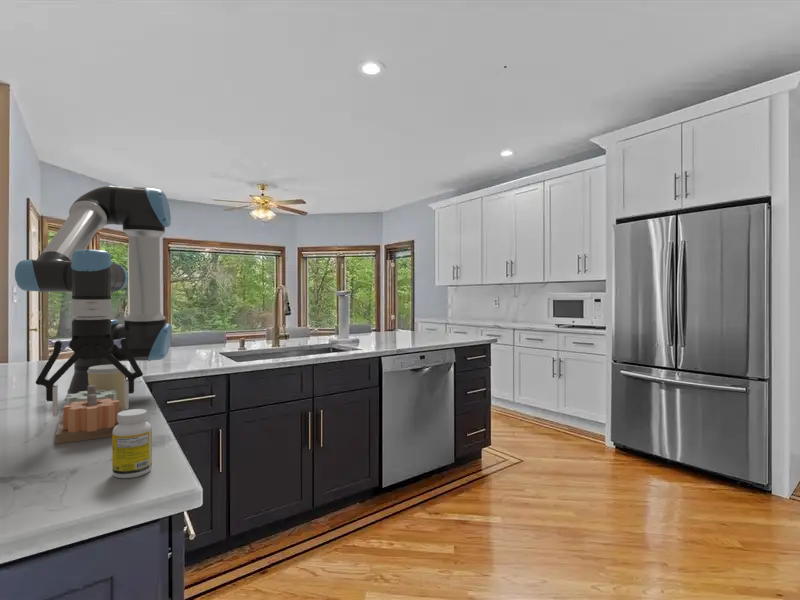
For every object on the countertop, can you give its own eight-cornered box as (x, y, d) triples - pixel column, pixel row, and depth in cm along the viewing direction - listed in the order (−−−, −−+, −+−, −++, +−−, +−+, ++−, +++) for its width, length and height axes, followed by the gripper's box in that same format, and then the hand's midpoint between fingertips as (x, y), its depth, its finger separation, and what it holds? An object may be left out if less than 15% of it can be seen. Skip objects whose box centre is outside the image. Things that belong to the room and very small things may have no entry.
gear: (58, 415, 117) (58, 394, 117) (104, 406, 126) (104, 388, 126) (77, 422, 111) (77, 400, 111) (124, 412, 120) (124, 393, 120)
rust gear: (64, 423, 110) (64, 401, 110) (117, 417, 116) (117, 396, 116) (62, 435, 101) (62, 411, 101) (120, 427, 107) (120, 405, 107)
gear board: (60, 422, 118) (60, 385, 118) (121, 415, 125) (121, 381, 125) (55, 443, 102) (55, 401, 101) (125, 434, 109) (126, 395, 109)
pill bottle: (122, 466, 89) (122, 407, 89) (157, 466, 89) (157, 407, 89) (105, 479, 83) (105, 416, 82) (142, 479, 83) (142, 416, 83)
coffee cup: (135, 408, 133) (135, 365, 133) (104, 416, 124) (104, 370, 124) (110, 405, 136) (110, 363, 136) (78, 413, 127) (78, 368, 127)
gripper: (19, 320, 98) (20, 423, 98) (155, 317, 112) (155, 408, 112) (24, 318, 104) (24, 415, 105) (151, 316, 118) (151, 401, 118)
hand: (92, 411), depth 108 cm, fingers open, 13 cm apart
